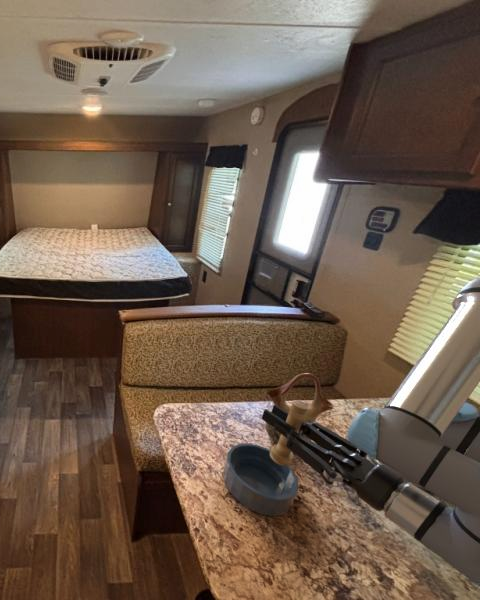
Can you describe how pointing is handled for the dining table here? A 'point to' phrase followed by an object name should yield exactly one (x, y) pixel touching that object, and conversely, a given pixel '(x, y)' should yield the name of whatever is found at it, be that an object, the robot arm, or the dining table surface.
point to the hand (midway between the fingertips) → (268, 411)
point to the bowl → (259, 480)
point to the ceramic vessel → (279, 399)
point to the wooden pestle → (280, 450)
